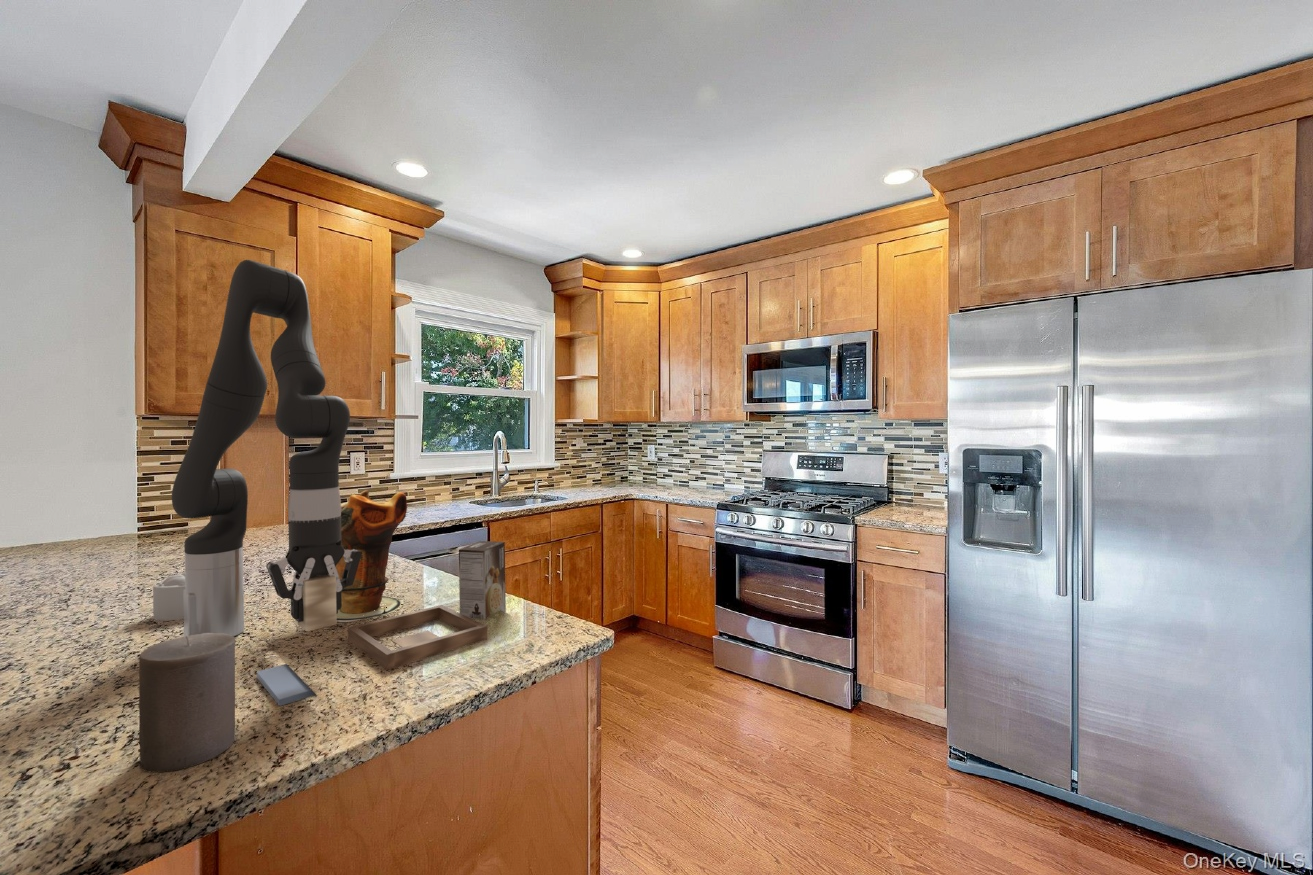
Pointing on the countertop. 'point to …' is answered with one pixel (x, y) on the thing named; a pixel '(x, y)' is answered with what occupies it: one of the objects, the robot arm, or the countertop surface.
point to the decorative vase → (369, 554)
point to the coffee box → (482, 579)
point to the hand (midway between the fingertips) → (316, 616)
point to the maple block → (319, 602)
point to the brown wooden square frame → (416, 636)
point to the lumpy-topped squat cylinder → (169, 598)
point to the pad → (284, 684)
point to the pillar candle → (186, 701)
